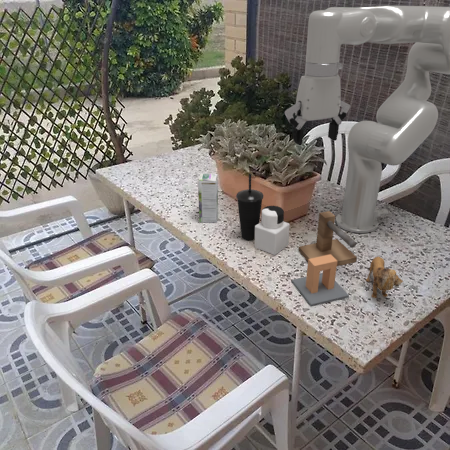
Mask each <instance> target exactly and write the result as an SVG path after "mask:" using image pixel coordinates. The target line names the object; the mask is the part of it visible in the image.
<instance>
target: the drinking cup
mask: <svg viewBox="0 0 450 450" xmlns="http://www.w3.org/2000/svg"><path fill="white" fill-rule="evenodd" d="M235 198H236V199H237V208H238V218H239V228H240V237H241V239H242V240H244V241H247V242H250V241H251V242H252V241H255V226H256V225H257V224H259V223H260V222H261V221H260V219H261V214H262V205H263V199H264V194H263V192H261V191H260V190H257V189H252V173H248V189H242V190H240V191H238V192H236V196H235Z"/></svg>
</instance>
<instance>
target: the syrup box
mask: <svg viewBox="0 0 450 450" xmlns="http://www.w3.org/2000/svg"><path fill="white" fill-rule="evenodd" d="M218 175H219V174H217V173H209V172H208V173H199V176H198V181H197V189H198V190H197V191H198V196H197V197H198V198H197V199H198V218H199V219H198V220H199V221H198V222H199V223H205V224H206V223H218V217H219V188H218V187H219V183H218V178H219V177H218Z"/></svg>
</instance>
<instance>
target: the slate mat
mask: <svg viewBox="0 0 450 450" xmlns="http://www.w3.org/2000/svg"><path fill="white" fill-rule="evenodd" d="M322 275H323V272H320V275H319V284H318V292H316V293H311V292H310V291H309V290H308V288H307V287H306V278H307V275H306V276H303V277H299V278H298V277H297V278H295V279H291V283H292V284H293V286H295V288H296V289H297V291H298V293H300V295H301V297H303V299H304V300H305V301H306V302H307V303H308V305H309V306H310V307H315V306H318V305H319V306H320V305H323V304H326V303H331V302H335V301H340V300H343V299H347V298H349V297H350V294H348V292H347V291H346V290H345V289H344V288H343V287H342V286H341V285H340V284H339V283H338V282H337V281H336V280H335V283H334V288H333V289H329V290H328V289H327V288H326V287H325V286H324V285H323V283H322Z"/></svg>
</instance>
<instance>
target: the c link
mask: <svg viewBox="0 0 450 450" xmlns="http://www.w3.org/2000/svg"><path fill="white" fill-rule="evenodd" d="M337 267H338V266H337V260H336V259H335V258H334V257H333V256H332V255H331V254H329V255H325V256H320V257H315V258H311V259H308V261H307V269H306V276H307V278H306V287H307V288H308V290H309V291H310V292H311V293H316V292H318V284H319V275H320V273H321V272H322V273H323V275H322V283H323V285H324V286H325V287H326V288H327V289H328V290H329V289H333V288H334V283H335V281H336V274H337Z"/></svg>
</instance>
